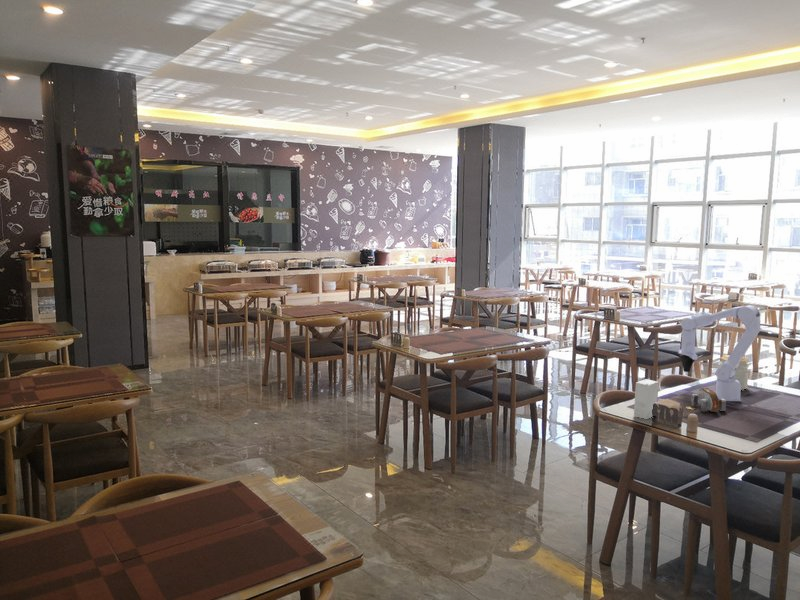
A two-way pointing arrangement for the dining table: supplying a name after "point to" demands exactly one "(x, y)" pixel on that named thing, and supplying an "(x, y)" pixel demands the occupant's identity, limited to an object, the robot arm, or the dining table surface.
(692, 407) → the brass mark
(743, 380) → the jar
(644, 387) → the skincare box
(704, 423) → the dining table surface
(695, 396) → the collar
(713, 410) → the bread slice
